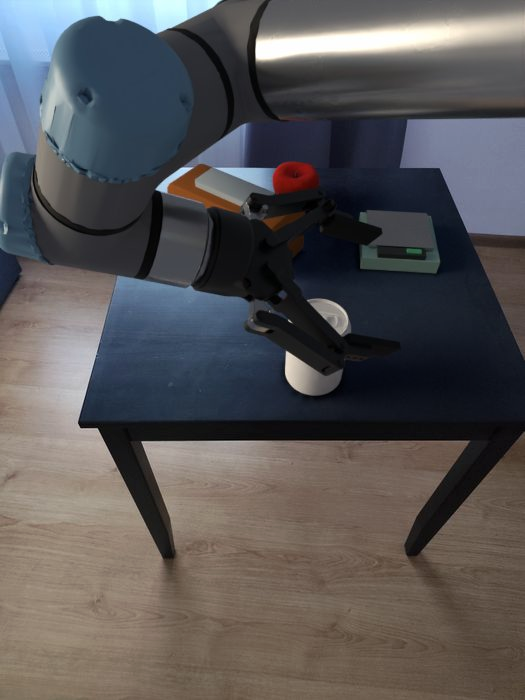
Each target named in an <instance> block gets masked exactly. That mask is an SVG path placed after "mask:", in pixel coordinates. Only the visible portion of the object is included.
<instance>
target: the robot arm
mask: <svg viewBox="0 0 525 700" xmlns="http://www.w3.org/2000/svg"><path fill="white" fill-rule="evenodd" d="M38 109H39V119H40V120H39V129H38V136H37V145H36V146H37V147H36V153H35V154H33V153H27V152H26V153H25V152H20V151H12V152H10V153H8V155H6V156H5V158H4V161H3V163H2V168H1V173H0V249H1V250H2V251H4V252H5V253H7V254H9V255H15V256H19V257H21V258H22V257H23V258H27V259H31V260H35V261H39V262H41V263H43V264H45V265H48V266H56V265H57V266H60V267H61V266H62V267H66V268H72V269H78V270H84V271H90V272H94V273H101V274H107V275H112V276H117V277H123V278H128V279H129V278H130V279H134V280H135V279H136V280H139V281H140V280H141V281H144V282H149V283H155V284H159V285H160V284H161V285H164V286H165V285H166V286H171V287H176V288H182V289H187V288H189V287H191V288H192V289H193V290H194V291H195V292H200V293H205V294H211V295H216V296H220V297H221V296H222V297H227V298H240V299H243V300H245V301H246V302H248V303H249V315H248V318H247V319H246V320H244V322H243V328H244V331H246V332H247V333H249V334H253V335H258V336H260V337H264V338H266V339H268V340H269V341H271V342H272V343H274V344H276V345H277V347H280V348H281V349H283V350H285V352H286V351H287V352H289V353H290V354H292V355H293V356H295V357H296V358H298V359H299V360H301V361H302V362H304V363H306V364H307V365H309V366H310V367H312V368H313V369H315V370H316V371H318V372H319V373H321V374H322V375H324V376H329V375H331V374H333V373H335V372H337V371H339V370H341V369H343V370H344V369H345V368H346V365H347V364H346V361H353V362H362V361H365V360H367V359H369V358H371V357H377V358H385V357H386V356H389V355H391V354H393V353H395V352H397V351H400V350H402V347H401V342H400V341H398V340H392V339H386V338H379V337H375V336H368V335H363V334H358V333H352V332H351V333H348V334H346V335H345V336H343V337H342V336H341V335H340V334H339V333H338V332H337V331H336V330H335V329H334V328H333V327H332V326H331V325H330V324H329V323H328V322H327V321H326V320H325V319H324V318H323V317H322V316H321V315H320V314H319V312H318V311H317V310H316V309H315V308H314V307H313V306H312V305H311V304H310V303H309V302H308V301H307V300H308V299H306V298H305V297H304V296H303V291H302V288H300V286H299V285H298V284H297V283H296V282H295V281H294V279H295V270H294V266H293V258H294V257H293V252H292V250H291V249H289V247H288V245H287V244H289V243H290V242H292V241H294V240H295V239H297V238H298V237H300V236H301V235H303V234H304V235H305V234H307V233H308V232H310V231H311V230H312V229H315V228H316V227H317V226H319V225H320V226H319V233H320V234H323V235H326V236H330V237H334V238H336V239H340V240H344V241H347V242H350V243H354V244H357V245H359V244H361V245H365V246H367V245H369V244H370V243H371V242H373V241H374V240H375V239H377V238H378V237H379V236H380V235H382V234H383V233H382V228H380V227H377V226H374V225H370V224H367V223H364V222H361V221H359V219H354V216H353V215H352V214H350V213H349V212H344V211H342V210H339V209H337V207H338V206H337V203H336V201H335V200H334V199H333V198H328V199H327V200H326V199H325V198H326V194H327V193H326V191H325V190H324V188H322V187H321V186H318V188H312V189H306V190H300V191H294V192H288V193H282V194H276V195H270V196H269V195H265V194H260V193H255V192H252V193H251V194H250V195H249V196H248V198H247V199H246V200H245V202H244V203H243V204H242V206H241V207H240V208H239V213H236V212H232V211H229V210H225V209H222V208H218V207H215V206H211V207H209V208H207V209H206V207H205V205H204V204H203V203H201V202H199V201H195V200H191V199H188V198H184V197H180V196H176V195H173V194H169V193H167V192H166V191H165V192H164V191H161V190H158V187H159V186H160V185H161V184H162V183H163V182H164V181H166V180H167V179H168V178H170V177H171V176H172V175H173V174H175V173H176V172H178V171H179V170H180V169H182V168H184V167H185V166H186V165H187V164H188V163H190V162H191V161H193V160H194V159H195V158H197V157H198V156H200V155H202V153H204V152H205V151H207V150H208V149H210V148H211V147H213V146H214V145H215V144H217V143H218V142H219V141H221V140H222V139H224V138H225V137H227V136H228V135H230V134H231V133H232V132H234V131H235V130H237V129H238V128H239V127H241V126H243V125H245V124H249V123H285V122H303V121H304V122H305V121H306V122H308V121H319V122H320V121H395V120H396V121H397V120H398V121H400V120H401V121H402V120H406V121H407V120H410V121H411V120H492V119H493V120H498V119H499V120H500V119H503V120H504V119H525V0H219V1H218V2H216V4H215V5H214V6H212V7H210V8H208V9H206V10H204V11H202V12H200V13H198V14H196V15H194V16H192V17H190V18H188V19H186V20H184V21H182V22H180V23H178V24H176V25H174V26H172V27H168V28H166V29H163V30H162V31H160V32H157V33H155V32H153V31H152V30H150V29H148V28H147V27H146V26H143V25H142V24H140V23H137V22H135V21H132V20H129V19H126V18H119V19H117V20H107V19H105V18H104V17H103V16H101V15H93V16H87V17H84V18H82V19H79V20H77V21H75V22H73V23H71V24H70V25H69V26H68V27H67V28H66V29H64V30H63V31H62V32H61V34H60V35H59V37H58V39H57V40H56V42H55V44H54V46H53V49H52V53H51V59H50V62H49V68H48V72H47V77H45V78H44V83H43V89H42V90H41V92H40V97H39V108H38ZM304 211H305V212H307V213H305V215H304V216H302V217H300V218H299V219H297V220H295V221H294V222H292V223H290V224H289V223H288V224H287V225H285V226H283V227H282V228H280V229H278V230H277V231H275V232H274V231H273V230H272V229H271V228H270V227H268V226H267V225H266V224H265V223H264V222H263V221H262V220H263V219H269V218H274V217H279V216H284V215H289V214H294V213H299V212H304ZM283 292H284V293H285V294H286V295H285V296H284V297H281V296H280V294H281V293H283ZM266 303H267V304H268V305H269V307H271V308H269V307H268V306H267V305H266ZM276 313H279V314H282V315H283V316H284V317H283V316H281V315H279V314H276ZM286 318H287V319H286ZM288 320H290V321H291V322H289V321H288ZM344 359H345V360H344Z"/></svg>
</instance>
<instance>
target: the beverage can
mask: <svg viewBox="0 0 525 700" xmlns="http://www.w3.org/2000/svg"><path fill="white" fill-rule="evenodd" d="M306 300H307V301H308V302H309V303H310V304H311V305H312V306H313V307H314V308H315V309H316V310H317V311H318V312H319V314H320V315H321V316H322V317H323V318H324V319H325V320H326V321H327V322H328V323H329V324H330V325H331V326H332V327H333V328H334V329H335V330H336V331H337V332H338V333H339V334H340V335H341V336H342V337H343V336H345V335H346V334H348V333H352V325H351V321H350V318H349V315H348V313H347V311H346V310H345V309H344V307H343V306H341V304H338V303H337V302H335V301H332V300H330V299H325V298H311V299H306ZM287 320H288V321H289V322H291V321H290V320H289V319H287ZM344 360H345V359H344ZM345 361H346V360H345ZM284 372H285V373H284V375H285V378H286V380H287V382H288V384H289V385H290V386H291V387H292V388H293V389H294V390H296V391H297V392H299V393H301V394H304V395H307V396H315V397H316V396H322V395H323V396H324V395H326V394H329V393H331V392H332V391H334V390H335V389H336V388H337V387H338V386H339V385H340V382H341V380H342V376H343V372H344V368H343V369H341V370H339V371H337V372H335V373H333V374H331V375H329V376H324V375H322V374H321V373H319V372H318V371H316V370H315V369H313V368H312V367H310V366H309V365H307V364H306V363H304V362H302V361H301V360H299V359H298V358H296V357H295V356H293V355H292V354H290V353H289V352H287V351H286V350H285V365H284Z"/></svg>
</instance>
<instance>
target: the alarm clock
mask: <svg viewBox="0 0 525 700" xmlns="http://www.w3.org/2000/svg"><path fill="white" fill-rule="evenodd" d="M252 192H255V193H260V194H265V195H269V196H270V195H276V193H275V191H271V190H270V189H268V188H264V187H262V186H259V185H258V184H254V183H252V182H250V181H247V180H245V179H242V178H240V177H237V176H235V175H232V174H230V173H227V172H225V171H223V170H220V169H218V168H215V167H213V166H210V165H208V164H205V163H199V164H196V165H195V166H194V167H192V168H190V169H189V170H188V171H186V172H185V173H183V174H182V175H180V176H179V177H177V178H176V179H174V180H173V181H171V182H169V183H168V185H167V187H166V193H169V194H173V195H176V196H180V197H184V198H188V199H191V200H195V201H199V202H201V203H203V204H204V205H205V207H206V209H207V208H209V207H211V206H215V207H218V208H222V209H225V210H229V211H232V212H236V213H239V208H240V207H241V206H242V204H243V203H244V202H245V200H246V199H247V198H248V196H249V195H250V194H251V193H252ZM304 215H306V211H304V212H299V213H294V214H289V215H284V216H279V217H274V218H269V219H263V220H262V221H263V222H264V223H265V224H266V225H267V226H268V227H270V228H271V229H272V230H273V231H274V232H275V231H277V230H278V229H280V228H282V227H283V226H285V225H287V224H288V223H289V224H290V223H292V222H294V221H295V220H297V219H299V218H300V217H302V216H304ZM304 240H305V234H303V235H301V236H300V237H298V238H297V239H295V240H294V241H292V242H290V243H289V244H287V245H288V247H289V249H291V250H292V252H293V258H295V257H296V256H297V255H298V254H299V252H301V251H302V250H303V248H304V242H305V241H304Z"/></svg>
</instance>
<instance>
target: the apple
mask: <svg viewBox="0 0 525 700" xmlns="http://www.w3.org/2000/svg"><path fill="white" fill-rule="evenodd" d="M319 185H320V175H319V174H318V171H317V169H316V167H315V166H313V164H310V163H308V162H302V161H301V162H300V161H285V162H283V163H281V164H279V165H277V167H276V169H275V170H274V171H273V173H272V188H273V192H274V193H276V194H282V193H288V192H294V191H300V190H306V189H312V188H318V187H319Z"/></svg>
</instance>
